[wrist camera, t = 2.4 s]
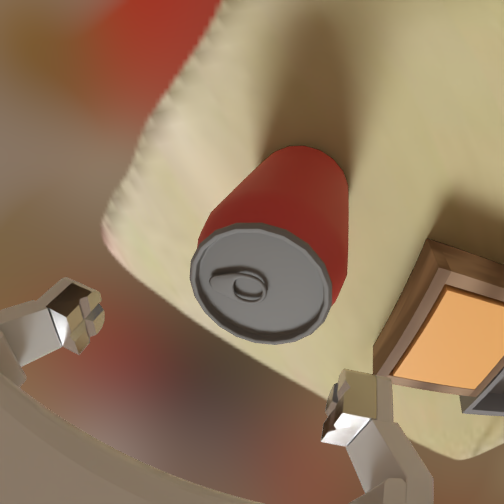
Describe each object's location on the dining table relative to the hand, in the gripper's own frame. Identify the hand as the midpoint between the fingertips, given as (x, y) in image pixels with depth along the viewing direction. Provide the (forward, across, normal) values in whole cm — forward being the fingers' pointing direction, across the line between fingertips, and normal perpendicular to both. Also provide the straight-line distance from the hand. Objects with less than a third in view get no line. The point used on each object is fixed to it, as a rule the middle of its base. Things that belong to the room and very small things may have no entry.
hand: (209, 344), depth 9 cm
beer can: (+15, -1, 0) cm, 15 cm away
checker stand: (+15, -17, +6) cm, 23 cm away
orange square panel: (+12, -17, +6) cm, 21 cm away
